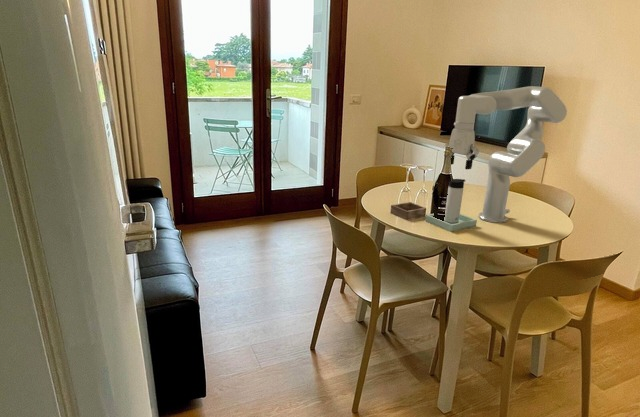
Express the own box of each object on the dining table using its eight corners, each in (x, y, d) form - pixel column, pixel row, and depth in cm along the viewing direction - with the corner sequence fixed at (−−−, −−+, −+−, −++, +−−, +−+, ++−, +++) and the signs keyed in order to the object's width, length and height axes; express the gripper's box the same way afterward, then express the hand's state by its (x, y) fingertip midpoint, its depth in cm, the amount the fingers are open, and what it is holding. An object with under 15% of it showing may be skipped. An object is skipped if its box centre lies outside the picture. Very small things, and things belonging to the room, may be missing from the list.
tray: (449, 216, 199) (450, 210, 198) (475, 226, 187) (476, 219, 186) (425, 221, 191) (426, 215, 190) (450, 232, 179) (451, 225, 178)
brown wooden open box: (409, 209, 207) (410, 201, 205) (425, 216, 198) (426, 208, 196) (390, 213, 200) (391, 205, 199) (406, 220, 192) (407, 211, 190)
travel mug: (459, 225, 185) (466, 181, 179) (444, 224, 187) (450, 180, 180) (458, 221, 191) (464, 178, 185) (443, 219, 192) (449, 176, 186)
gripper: (442, 124, 181) (437, 163, 186) (475, 129, 167) (469, 171, 172) (454, 123, 185) (449, 162, 190) (487, 128, 171) (481, 170, 176)
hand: (459, 166), depth 181 cm, fingers open, 9 cm apart
